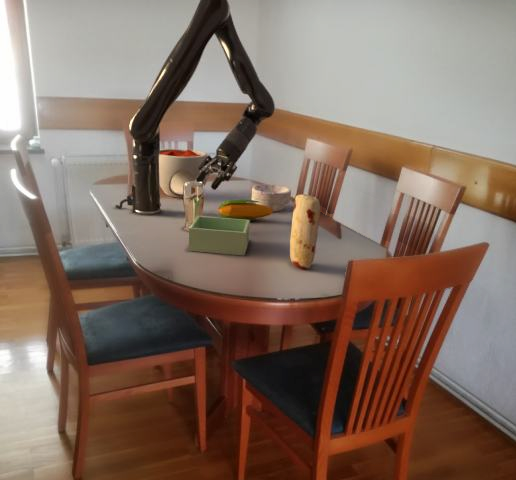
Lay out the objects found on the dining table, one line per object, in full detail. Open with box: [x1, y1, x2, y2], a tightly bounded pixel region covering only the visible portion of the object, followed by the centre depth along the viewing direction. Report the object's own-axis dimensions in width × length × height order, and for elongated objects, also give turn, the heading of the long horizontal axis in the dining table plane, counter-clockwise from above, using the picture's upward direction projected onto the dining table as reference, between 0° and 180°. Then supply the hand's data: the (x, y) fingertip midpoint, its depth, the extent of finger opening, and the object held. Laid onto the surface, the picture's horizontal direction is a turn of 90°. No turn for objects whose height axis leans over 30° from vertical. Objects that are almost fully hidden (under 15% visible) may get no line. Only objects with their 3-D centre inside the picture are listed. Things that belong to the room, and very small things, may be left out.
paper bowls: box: [251, 184, 292, 212], centre depth 205 cm, size 15×15×8 cm
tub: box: [188, 215, 251, 256], centre depth 159 cm, size 17×15×7 cm
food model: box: [289, 193, 321, 270], centre depth 144 cm, size 10×7×20 cm
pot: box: [159, 148, 210, 199], centre depth 212 cm, size 24×24×18 cm
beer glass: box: [182, 181, 206, 232], centre depth 171 cm, size 7×7×15 cm
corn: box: [218, 199, 274, 222], centre depth 187 cm, size 7×8×20 cm
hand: (204, 185), depth 171 cm, fingers open, 8 cm apart
